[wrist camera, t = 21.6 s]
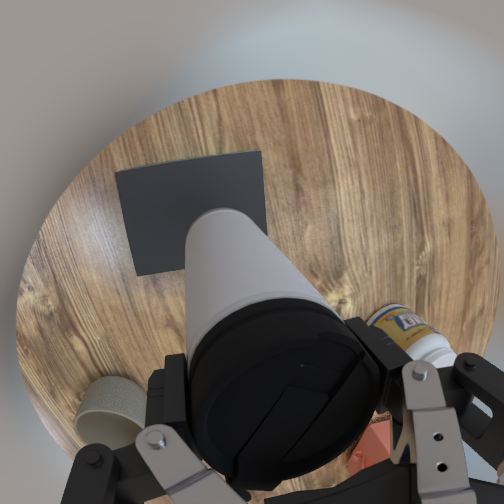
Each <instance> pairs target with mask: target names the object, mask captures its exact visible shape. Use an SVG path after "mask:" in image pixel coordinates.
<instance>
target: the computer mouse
mask: <svg viewBox="0 0 504 504" xmlns="http://www.w3.org/2000/svg"><path fill="white" fill-rule="evenodd" d="M232 489H233V490H234V491H235V492H236V493H237V494H238V495H239V496H240V497H241V498H243V499H244V500H245V501H246V502H248V501H250V500H251V495H250V493H248V492H247V491H246V490H244V489H234V488H232Z"/></svg>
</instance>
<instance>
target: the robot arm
mask: <svg viewBox="0 0 504 504" xmlns="http://www.w3.org/2000/svg"><path fill="white" fill-rule="evenodd" d="M343 321H344V323H345V325H346V326H347V327H348V329H349V330H350V331H351V332H352V333H353V334H354V335H355V336H356V338H357V339H358V340H359V342H360V343H361V344H362V346H363V347H364V348H365V350H366V351H367V352H368V354H369V355H370V356H371V358H372V359H373V361H374V362H375V363H376V364H377V365H378V369H379V373H380V377H381V387H380V395H379V399H378V403H377V407H376V409H375V410H376V412H377V413H378V414H382V413H384V412H387V411H389V412H390V413H391V417H390V458H388V459H386V460H383V461H381V462H379V463H376V464H374V465H372V466H369V467H367V468H364V469H362V470H360V471H359V472H357V473H356V474H354V475H353V476H351V477H350V478H348V479H347V480H345V481H343V482H342V483H340V484H339V485H337V486H335V487H332V488H325V489H316V490H304V491H295V492H292V493H288V494H284V495H280V496H275V497H271V498H267V499H264V503H265V504H504V372H503V371H501V370H500V369H498V368H497V367H496V366H494V365H493V364H491V363H490V362H488V361H487V360H485V359H484V358H482V357H481V356H479V355H477V354H475V353H462V354H459V355H458V356H457V357H456V358H455V361H454V364H453V366H448V367H442V368H436V367H435V366H434V365H433V364H431V363H429V362H427V361H423V360H415V361H414V360H413V359H412V358H411V357H410V356H409V355H408V354H407V353H406V352H405V351H404V350H403V349H402V348H401V347H400V346H399V345H398V344H397V343H395V341H394V340H393V339H392V338H391V337H390V338H389V336H388V335H387V334H386V333H385V332H384V331H383V330H382V329H380V328H378V327H376V326H374V325H369V326H368V325H367V324H366V323H365V322H364V321H363V320H362V319H361V318H360V317H355V318H351V319H347V320H343ZM190 393H191V390H190V386H189V381H188V375H187V361H186V357H185V354H184V353H181V354H174V355H167V356H165V368H164V369H159V370H154V372H153V373H152V375H151V376H150V378H149V380H148V391H147V402H146V415H145V427H144V429H143V430H142V431H141V432H140V433H139V434H138V435H137V437H136V440H135V442H134V443H132V444H130V445H128V446H125V447H122V448H119V449H115V450H111V449H110V448H109V447H108V446H106V445H104V444H100V443H93V444H89V445H86V446H84V447H83V448H82V449H80V450H79V452H78V453H77V455H76V457H75V460H74V463H73V466H72V469H71V472H70V475H69V478H68V482H67V484H66V488H65V490H64V494H63V497H62V500H61V504H144V502H145V501H148V500H151V499H154V498H157V497H160V496H163V495H166V494H167V495H168V496H169V497H170V499H171V500H172V501H173V503H174V504H248V503H247V502H246V501H245V500H244V499H243V498H241V497H240V496H239V495H238V494H237V493H236V492H235V491H234V490H233V489H232V488H231V487H230V486H229V485H228V484H227V483H226V482H225V481H224V480H223V479H222V478H221V477H220V476H219V475H218V474H217V473H216V472H215V471H214V470H213V469H211V468H210V469H208V468H207V467H206V466H205V465H204V464H203V463H202V462H201V461H203V460H202V457H201V455H200V453H199V451H198V450H197V448H196V444H195V440H194V435H193V424H192V412H191V398H190ZM474 396H475V397H477V398H478V399H480V400H481V401H482V402H483V403H485V404H486V405H487V406H488V407H489V408H490V409H491V410H492V413H493V417H492V418H490V417H489V416H488V415H487V414H485V413H484V412H483V411H482V410H481V409H479V408H478V407H477V406H476V405H474V404H473V403H472V401H473V399H474ZM462 440H463V441H465V442H466V443H467V444H468V445H469V446H470V447H471V448H472V449H474V451H475V452H477V453H478V454H479V455H480V456H481V457H482V458H483V459H484V460H485V461H486V462H488V463H489V464H490V465H491V466H492V467H493V468H494V469H495V470H496V471H497V475H498V480H497V484H496V483H491V482H486V481H481V480H478V479H473V478H469V477H468V472H467V466H466V460H465V453H464V448H463V443H462Z"/></svg>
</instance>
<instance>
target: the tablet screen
mask: <svg viewBox="0 0 504 504" xmlns="http://www.w3.org/2000/svg"><path fill="white" fill-rule="evenodd" d="M115 176H116V182H117V187H118V193H119V198H120V203H121V208H122V213H123V218H124V223H125V228H126V232H127V237H128V241H129V245H130V250H131V254H132V258H133V262H134V266H135V270H136V274H137V276H143V275H149V274H155V273H162V272H168V271H174V270H180V269H185V243H186V236H187V233H188V231H189V228H190V227H191V225H192V223H193V222H194V221H195V220H196V219H197V218H198V217H199V216H201V215H202V214H203V213H205V212H207V211H209V210H212V209H216V208H232V209H235V210H238V211H241V212H242V213H244V214H245V215H247V216H248V217H249V218H250V219H251V220H252V221H253V222H254V223H255V224H256V225H257V226H258V227H259V228H260V229H261V231H262V232H263V233H264V234H265V235H266V236H267V223H266V209H265V196H264V182H263V169H262V157H261V151H250V152H240V153H231V154H223V155H215V156H207V157H200V158H193V159H186V160H180V161H173V162H167V163H161V164H155V165H150V166H144V167H139V168H133V169H128V170H123V171H118V172H116V173H115Z"/></svg>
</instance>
